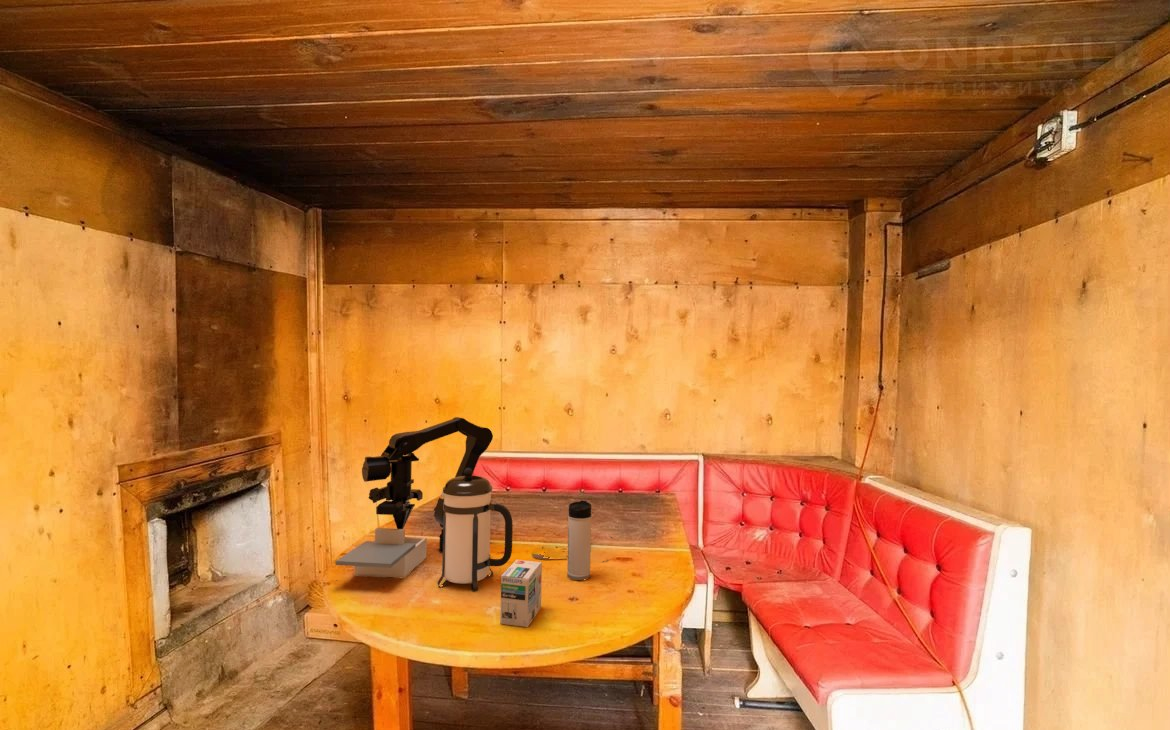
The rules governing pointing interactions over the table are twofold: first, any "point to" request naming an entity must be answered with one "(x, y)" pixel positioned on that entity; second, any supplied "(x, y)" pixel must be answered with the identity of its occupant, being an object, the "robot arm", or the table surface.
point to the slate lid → (379, 550)
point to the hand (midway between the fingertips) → (400, 530)
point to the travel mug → (579, 540)
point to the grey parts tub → (401, 566)
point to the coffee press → (470, 530)
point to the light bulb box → (521, 593)
